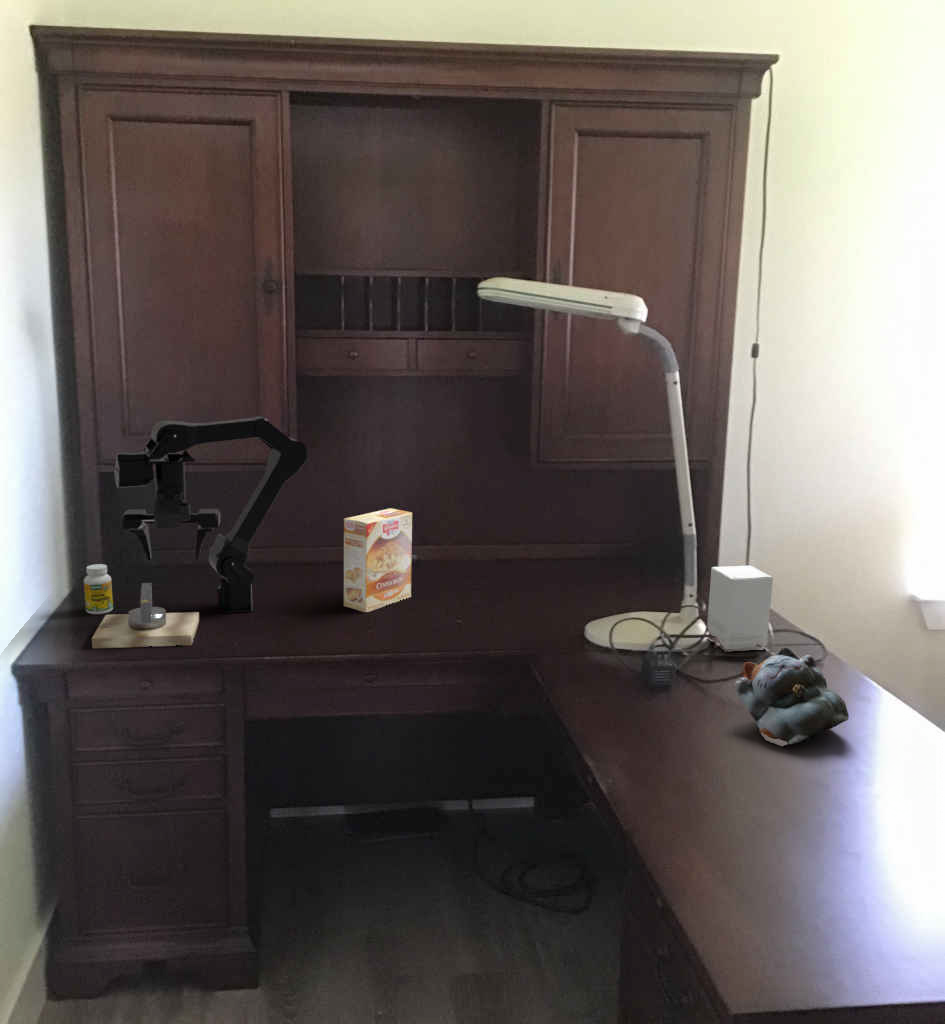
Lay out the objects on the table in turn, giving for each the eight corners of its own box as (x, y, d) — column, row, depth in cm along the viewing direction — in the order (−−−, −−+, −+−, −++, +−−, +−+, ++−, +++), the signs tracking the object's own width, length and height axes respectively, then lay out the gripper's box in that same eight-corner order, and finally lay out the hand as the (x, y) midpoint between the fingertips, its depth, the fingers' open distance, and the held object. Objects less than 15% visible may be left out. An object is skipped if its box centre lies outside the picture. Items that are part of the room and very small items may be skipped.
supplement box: (768, 651, 196) (774, 576, 193) (725, 653, 194) (731, 578, 191) (746, 635, 204) (752, 564, 201) (704, 638, 203) (710, 566, 199)
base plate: (199, 621, 205) (198, 611, 205) (191, 645, 192) (191, 634, 191) (106, 624, 202) (105, 614, 202) (92, 648, 189) (91, 637, 188)
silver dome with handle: (129, 614, 202) (127, 583, 200) (166, 612, 204) (164, 581, 202) (127, 636, 190) (125, 602, 188) (166, 633, 192) (164, 600, 190)
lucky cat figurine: (768, 753, 152) (738, 663, 154) (748, 749, 164) (720, 666, 166) (862, 724, 152) (830, 635, 155) (835, 723, 164) (806, 640, 167)
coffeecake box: (366, 613, 213) (366, 523, 209) (342, 606, 217) (341, 518, 213) (412, 597, 225) (413, 511, 220) (388, 591, 229) (389, 507, 225)
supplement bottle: (109, 605, 214) (107, 561, 212) (116, 612, 210) (113, 567, 208) (83, 609, 211) (80, 565, 209) (89, 616, 207) (86, 571, 205)
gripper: (114, 492, 193) (118, 571, 196) (214, 492, 196) (217, 569, 199) (124, 481, 204) (128, 556, 207) (219, 481, 207) (221, 555, 210)
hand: (173, 559), depth 206 cm, fingers open, 9 cm apart
